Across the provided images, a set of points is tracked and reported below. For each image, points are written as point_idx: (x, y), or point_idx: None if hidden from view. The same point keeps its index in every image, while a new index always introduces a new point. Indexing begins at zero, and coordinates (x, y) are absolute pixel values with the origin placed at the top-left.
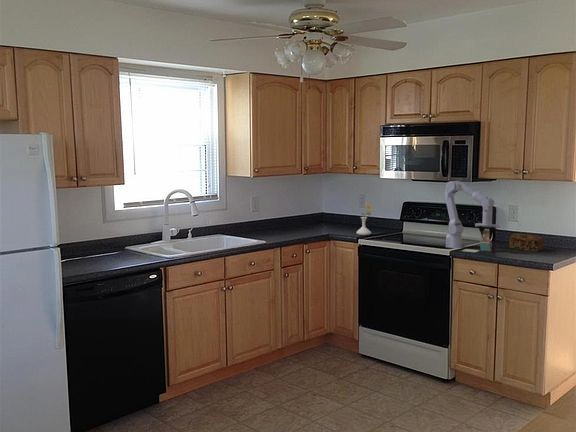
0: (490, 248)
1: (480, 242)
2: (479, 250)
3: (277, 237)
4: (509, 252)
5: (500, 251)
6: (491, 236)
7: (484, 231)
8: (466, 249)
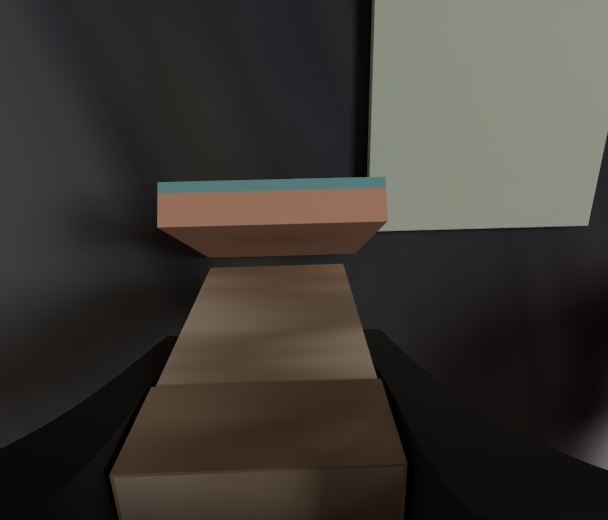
0: (197, 249)
1: (361, 179)
2: None
3: None
4: (12, 375)
5: None
6: None
7: (327, 451)
8: (575, 177)
